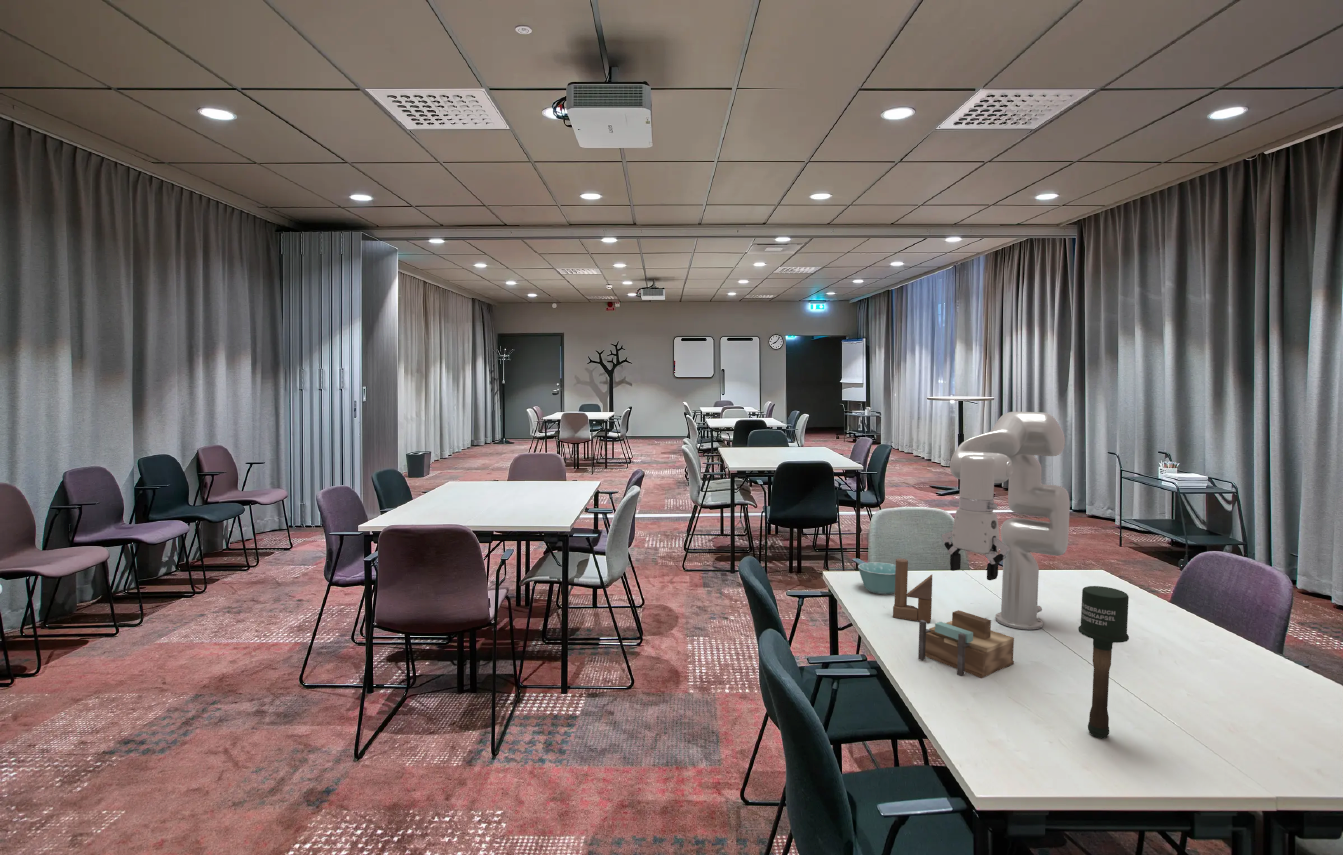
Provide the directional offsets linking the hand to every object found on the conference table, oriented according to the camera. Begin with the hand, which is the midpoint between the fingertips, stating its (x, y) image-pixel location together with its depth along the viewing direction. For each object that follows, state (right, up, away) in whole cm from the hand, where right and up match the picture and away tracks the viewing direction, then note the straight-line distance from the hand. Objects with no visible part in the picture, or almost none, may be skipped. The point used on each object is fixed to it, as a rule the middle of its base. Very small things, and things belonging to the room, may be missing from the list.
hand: (973, 574), depth 163 cm
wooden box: (+2, -24, +9) cm, 26 cm away
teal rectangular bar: (-2, -17, +5) cm, 18 cm away
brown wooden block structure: (0, -23, +40) cm, 46 cm away
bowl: (-1, -21, +68) cm, 71 cm away
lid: (+3, -20, +9) cm, 22 cm away
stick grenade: (+13, -27, -27) cm, 40 cm away
